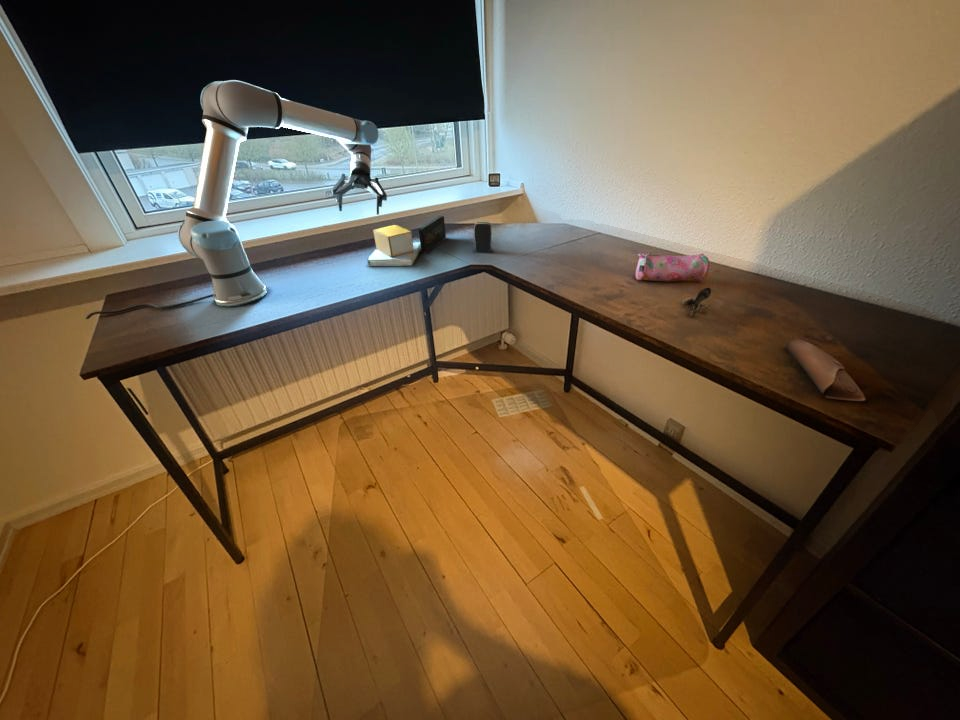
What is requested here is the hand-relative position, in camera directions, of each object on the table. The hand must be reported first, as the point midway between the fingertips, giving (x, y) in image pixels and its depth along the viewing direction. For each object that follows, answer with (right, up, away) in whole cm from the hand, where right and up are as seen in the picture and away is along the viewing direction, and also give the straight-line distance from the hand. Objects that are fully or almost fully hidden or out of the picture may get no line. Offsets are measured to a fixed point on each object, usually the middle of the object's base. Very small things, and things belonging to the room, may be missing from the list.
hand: (359, 210), depth 143 cm
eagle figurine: (+107, -43, -35) cm, 121 cm away
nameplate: (+26, -7, +22) cm, 34 cm away
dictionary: (+12, -13, +9) cm, 19 cm away
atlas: (+12, -15, +11) cm, 22 cm away
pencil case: (+109, -30, -17) cm, 114 cm away
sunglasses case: (+121, -60, -60) cm, 148 cm away
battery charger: (+47, -12, +14) cm, 51 cm away
